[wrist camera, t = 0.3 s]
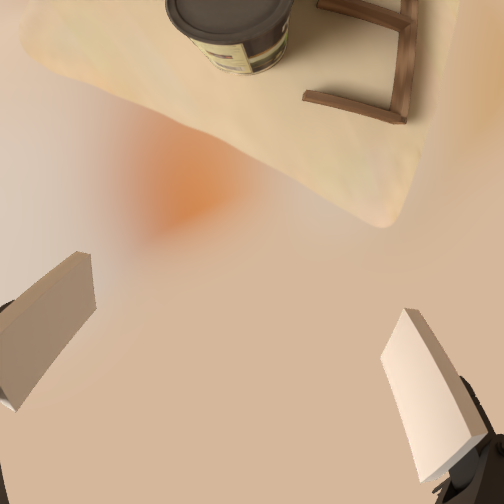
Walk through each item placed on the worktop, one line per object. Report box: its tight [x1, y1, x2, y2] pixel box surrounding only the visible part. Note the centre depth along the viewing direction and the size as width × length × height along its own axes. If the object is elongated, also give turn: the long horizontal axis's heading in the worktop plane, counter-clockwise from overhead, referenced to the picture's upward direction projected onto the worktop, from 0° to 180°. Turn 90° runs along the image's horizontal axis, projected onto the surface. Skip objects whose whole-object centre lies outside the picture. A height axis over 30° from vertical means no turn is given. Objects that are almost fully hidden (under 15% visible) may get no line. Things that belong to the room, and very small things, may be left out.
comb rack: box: [302, 0, 418, 124], centre depth 25 cm, size 23×12×4 cm, turn 171°
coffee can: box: [165, 0, 293, 75], centre depth 23 cm, size 10×10×14 cm
